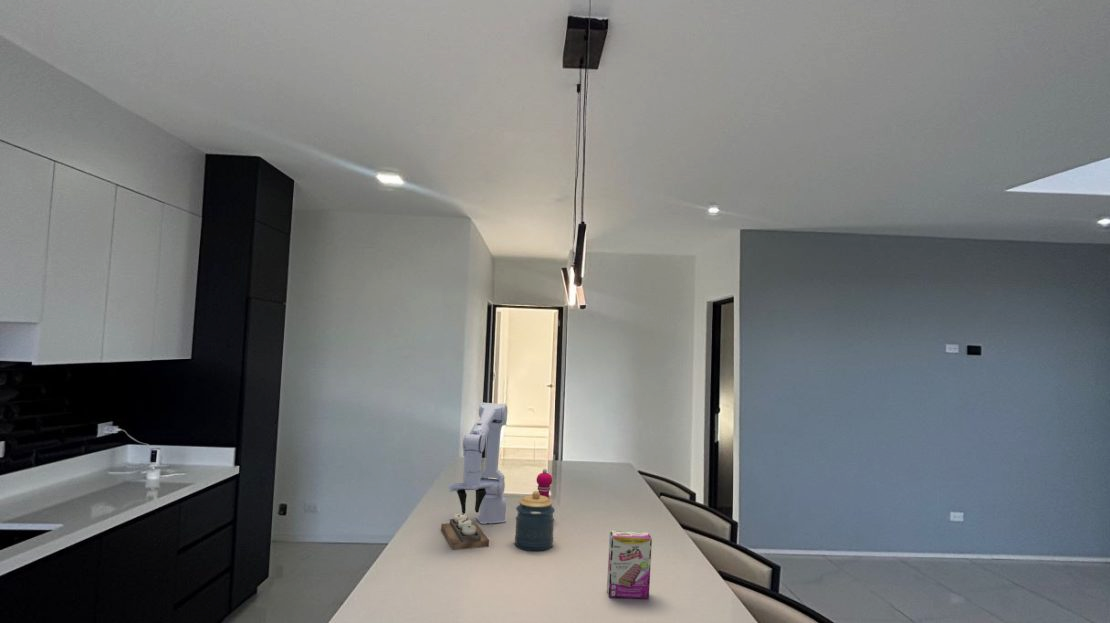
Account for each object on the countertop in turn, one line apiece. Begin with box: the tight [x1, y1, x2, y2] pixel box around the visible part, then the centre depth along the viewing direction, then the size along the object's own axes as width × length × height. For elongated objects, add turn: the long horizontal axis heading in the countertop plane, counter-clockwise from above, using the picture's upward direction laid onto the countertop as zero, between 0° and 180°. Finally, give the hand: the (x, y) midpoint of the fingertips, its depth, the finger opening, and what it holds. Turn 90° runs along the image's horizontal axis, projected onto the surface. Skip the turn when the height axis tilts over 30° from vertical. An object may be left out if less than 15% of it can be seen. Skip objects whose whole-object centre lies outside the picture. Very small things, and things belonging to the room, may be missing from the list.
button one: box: [462, 525, 476, 535], centre depth 189 cm, size 4×4×2 cm
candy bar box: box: [606, 530, 653, 600], centre depth 156 cm, size 11×5×16 cm, turn 92°
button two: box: [453, 512, 468, 523], centre depth 201 cm, size 4×4×2 cm
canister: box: [514, 490, 555, 552], centre depth 192 cm, size 13×13×18 cm
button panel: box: [440, 517, 490, 550], centre depth 195 cm, size 12×20×4 cm, turn 22°
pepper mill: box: [536, 468, 553, 507], centre depth 216 cm, size 7×7×20 cm
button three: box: [458, 518, 472, 529], centre depth 195 cm, size 4×4×2 cm
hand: (470, 512), depth 189 cm, fingers open, 4 cm apart
